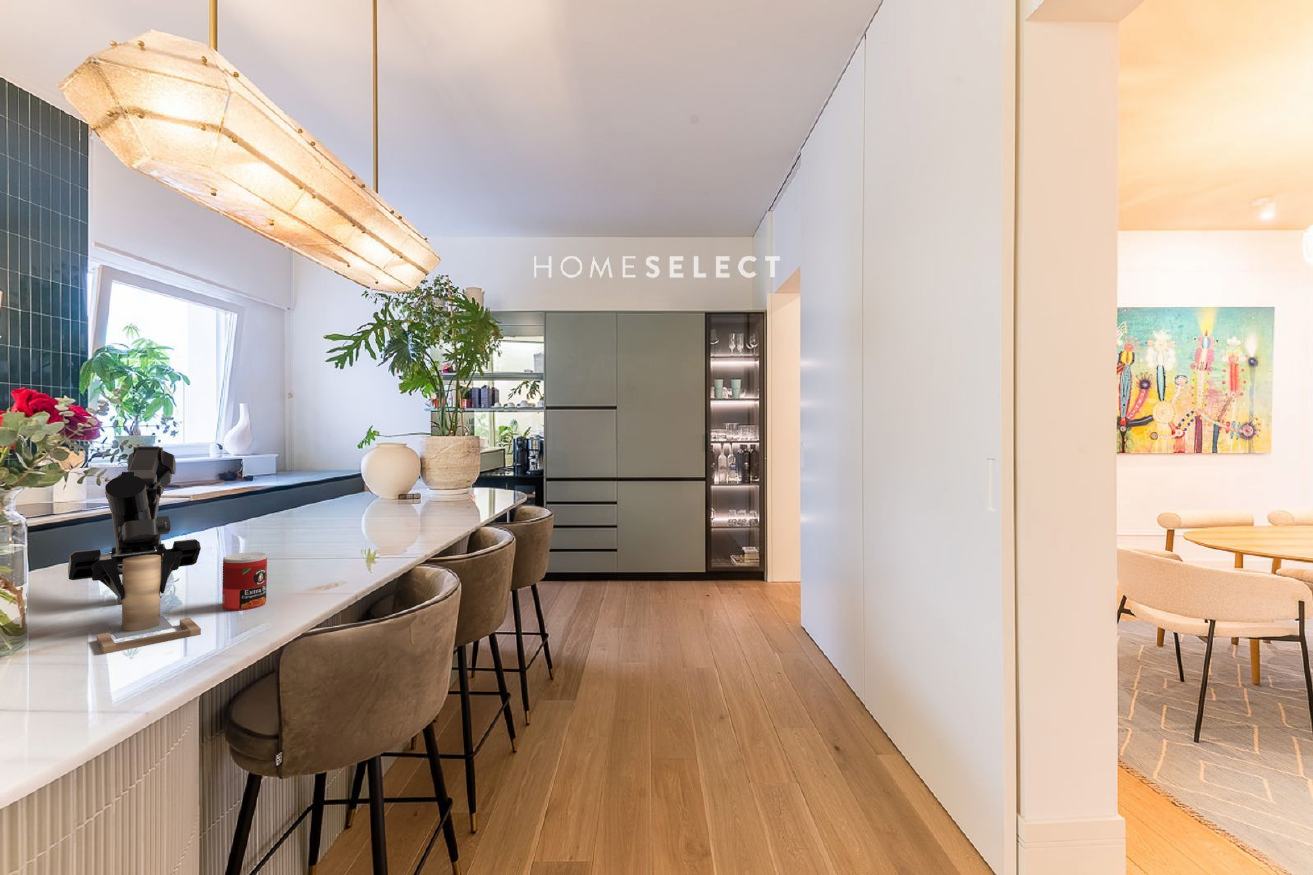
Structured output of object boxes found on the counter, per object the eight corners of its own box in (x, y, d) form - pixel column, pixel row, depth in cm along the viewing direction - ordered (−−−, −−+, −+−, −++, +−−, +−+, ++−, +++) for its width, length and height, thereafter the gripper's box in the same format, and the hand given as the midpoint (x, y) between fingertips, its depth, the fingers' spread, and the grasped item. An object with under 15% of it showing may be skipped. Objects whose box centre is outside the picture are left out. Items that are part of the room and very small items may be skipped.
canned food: (244, 614, 120) (245, 561, 120) (212, 610, 121) (212, 558, 121) (275, 603, 127) (276, 553, 127) (244, 600, 129) (245, 551, 129)
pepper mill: (119, 626, 110) (120, 557, 110) (156, 619, 114) (157, 553, 114) (124, 633, 106) (125, 562, 106) (162, 626, 110) (163, 558, 110)
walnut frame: (96, 643, 103) (96, 634, 103) (189, 625, 112) (189, 617, 112) (103, 656, 97) (103, 647, 97) (200, 636, 107) (200, 628, 107)
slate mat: (108, 627, 110) (108, 625, 110) (162, 617, 116) (162, 615, 116) (116, 640, 104) (116, 638, 104) (174, 629, 110) (174, 627, 110)
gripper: (70, 507, 105) (76, 579, 98) (199, 499, 119) (212, 562, 112) (65, 544, 110) (71, 615, 103) (189, 532, 125) (201, 594, 118)
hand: (142, 595), depth 109 cm, fingers closed on pepper mill, 5 cm apart
